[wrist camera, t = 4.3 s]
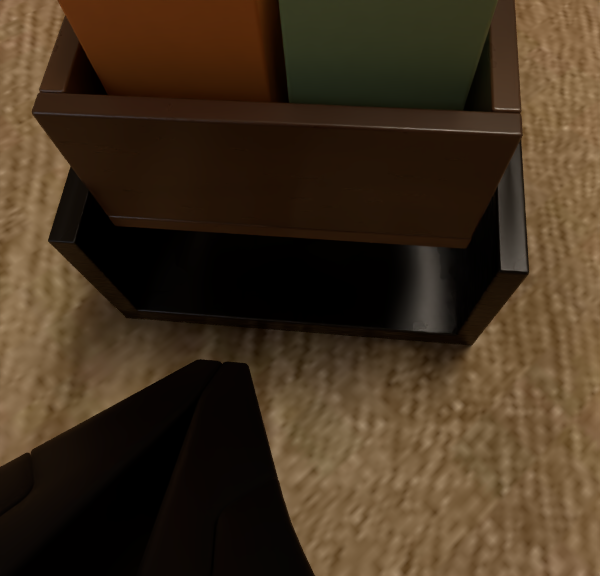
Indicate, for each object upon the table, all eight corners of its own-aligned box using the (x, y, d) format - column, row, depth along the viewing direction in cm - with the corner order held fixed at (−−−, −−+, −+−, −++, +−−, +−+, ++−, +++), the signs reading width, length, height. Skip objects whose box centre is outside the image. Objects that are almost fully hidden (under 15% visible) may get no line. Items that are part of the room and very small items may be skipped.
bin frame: (472, 346, 20) (530, 273, 14) (125, 318, 21) (46, 241, 15) (469, 171, 23) (516, 51, 17) (163, 155, 24) (109, 38, 18)
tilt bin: (467, 249, 16) (523, 136, 11) (114, 226, 16) (29, 112, 12) (464, 57, 18) (509, -100, 14) (160, 46, 19) (105, -105, 14)
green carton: (438, 190, 16) (547, -150, 8) (296, 181, 16) (261, -150, 8) (439, 78, 17) (531, -301, 9) (309, 73, 18) (291, -296, 10)
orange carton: (283, 181, 16) (234, -150, 8) (148, 173, 16) (-25, -152, 8) (297, 73, 18) (268, -295, 10) (173, 68, 18) (46, -291, 10)
